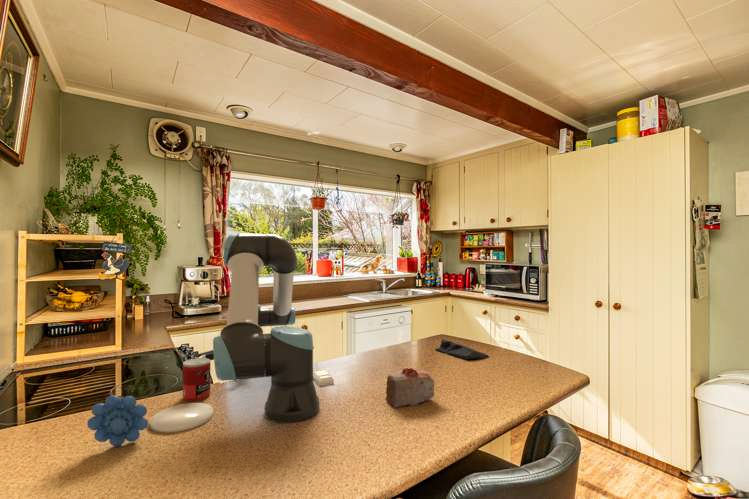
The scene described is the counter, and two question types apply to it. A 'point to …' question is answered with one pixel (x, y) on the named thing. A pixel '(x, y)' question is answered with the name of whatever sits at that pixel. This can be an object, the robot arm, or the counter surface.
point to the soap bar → (323, 378)
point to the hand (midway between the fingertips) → (213, 364)
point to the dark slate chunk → (459, 350)
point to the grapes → (118, 420)
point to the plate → (181, 417)
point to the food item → (409, 388)
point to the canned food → (196, 379)
